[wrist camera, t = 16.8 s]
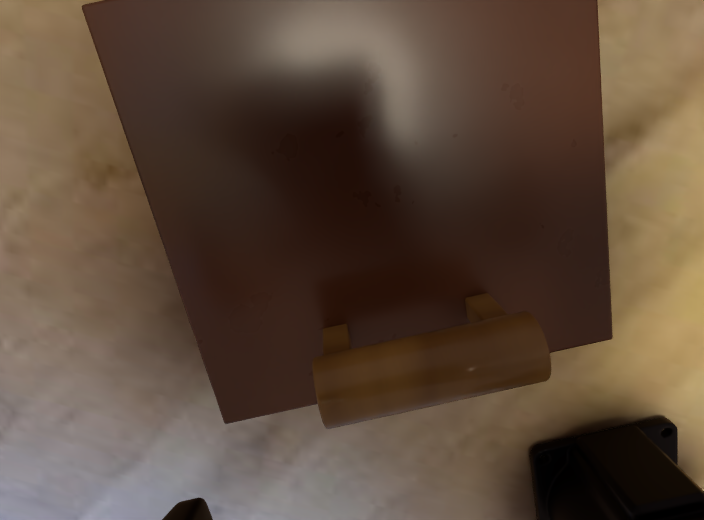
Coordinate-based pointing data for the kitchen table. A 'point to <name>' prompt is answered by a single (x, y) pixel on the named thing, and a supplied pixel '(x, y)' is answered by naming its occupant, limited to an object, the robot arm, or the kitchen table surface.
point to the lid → (369, 191)
